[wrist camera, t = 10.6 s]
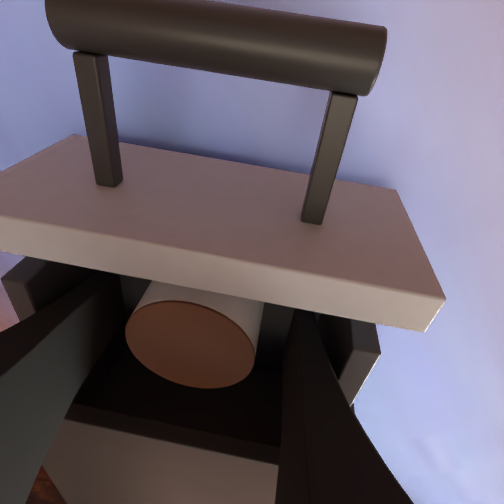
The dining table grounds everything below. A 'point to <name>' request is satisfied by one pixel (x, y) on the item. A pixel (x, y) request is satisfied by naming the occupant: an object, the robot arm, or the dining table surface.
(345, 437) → the robot arm
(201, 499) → the dark grey box
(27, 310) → the drawer
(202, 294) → the cylinder
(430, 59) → the dining table surface
